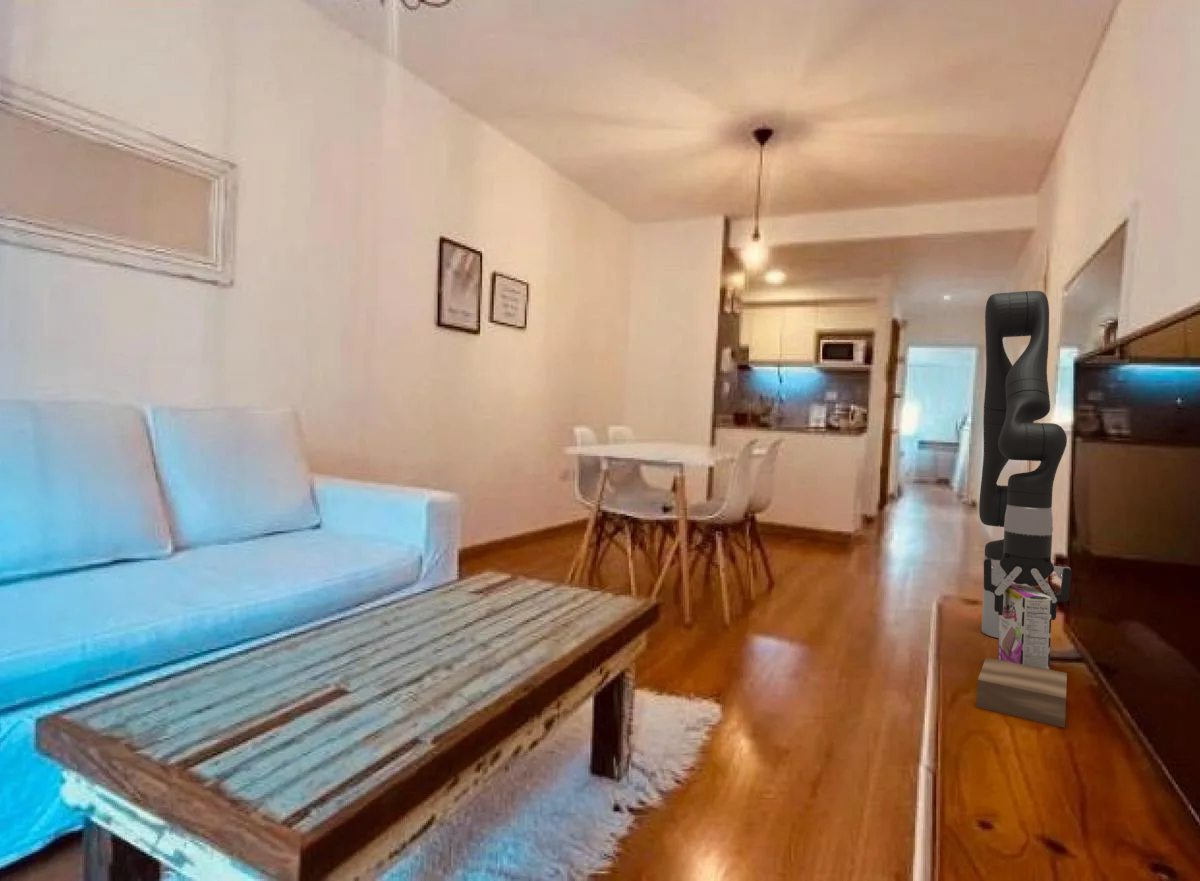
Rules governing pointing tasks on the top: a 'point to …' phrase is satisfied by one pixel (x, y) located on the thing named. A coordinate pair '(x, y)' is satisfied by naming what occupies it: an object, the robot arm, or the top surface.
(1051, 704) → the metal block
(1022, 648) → the candy bar box
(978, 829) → the top surface
